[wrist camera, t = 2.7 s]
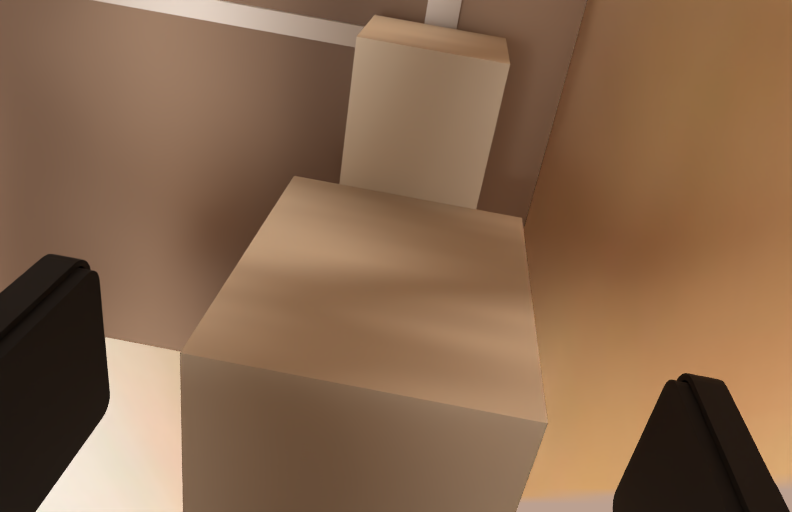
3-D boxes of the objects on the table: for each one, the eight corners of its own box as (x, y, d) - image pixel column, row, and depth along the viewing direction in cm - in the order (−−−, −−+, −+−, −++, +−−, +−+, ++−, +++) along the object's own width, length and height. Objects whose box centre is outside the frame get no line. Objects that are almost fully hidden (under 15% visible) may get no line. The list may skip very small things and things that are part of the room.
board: (576, -25, 13) (591, -11, 12) (474, 358, 18) (473, 410, 17) (-411, -198, 14) (-545, -211, 12) (-250, 220, 19) (-328, 256, 17)
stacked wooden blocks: (540, 25, 14) (623, 214, 6) (442, 415, 19) (416, 787, 11) (350, -9, 14) (174, 131, 6) (307, 389, 19) (187, 739, 11)
